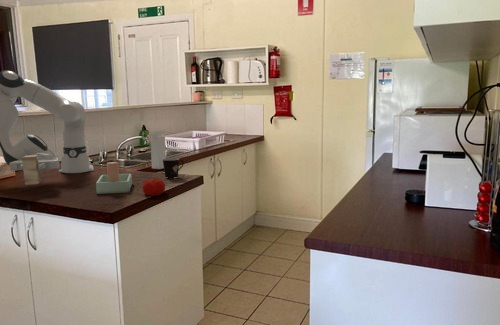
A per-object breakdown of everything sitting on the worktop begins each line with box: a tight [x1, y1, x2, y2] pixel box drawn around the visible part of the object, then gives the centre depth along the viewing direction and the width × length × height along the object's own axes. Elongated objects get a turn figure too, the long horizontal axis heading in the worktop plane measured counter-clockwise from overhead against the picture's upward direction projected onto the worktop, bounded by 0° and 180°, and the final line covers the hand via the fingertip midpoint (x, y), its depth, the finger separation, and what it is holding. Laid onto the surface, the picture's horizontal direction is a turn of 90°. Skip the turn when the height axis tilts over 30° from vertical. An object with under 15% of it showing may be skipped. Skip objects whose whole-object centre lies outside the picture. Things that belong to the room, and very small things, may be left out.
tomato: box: [142, 177, 166, 197], centre depth 182 cm, size 10×11×6 cm
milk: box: [150, 130, 167, 170], centre depth 243 cm, size 6×6×22 cm
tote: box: [95, 173, 133, 195], centre depth 193 cm, size 18×14×5 cm
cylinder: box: [106, 161, 120, 182], centre depth 188 cm, size 5×5×12 cm
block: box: [22, 155, 41, 185], centre depth 181 cm, size 5×5×12 cm
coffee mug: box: [163, 157, 184, 178], centre depth 216 cm, size 12×9×10 cm
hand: (30, 167), depth 180 cm, fingers closed on block, 5 cm apart
